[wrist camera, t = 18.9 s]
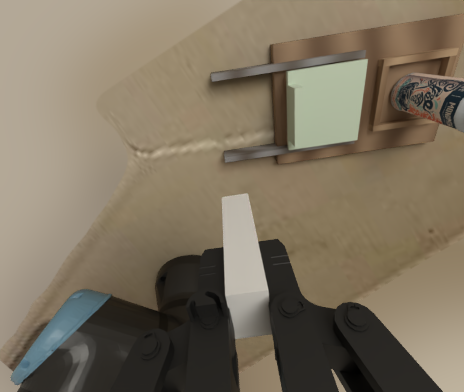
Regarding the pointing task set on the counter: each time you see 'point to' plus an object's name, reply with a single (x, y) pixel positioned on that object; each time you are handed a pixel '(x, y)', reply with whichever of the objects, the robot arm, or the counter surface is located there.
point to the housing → (376, 83)
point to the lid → (324, 103)
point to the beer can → (431, 98)
